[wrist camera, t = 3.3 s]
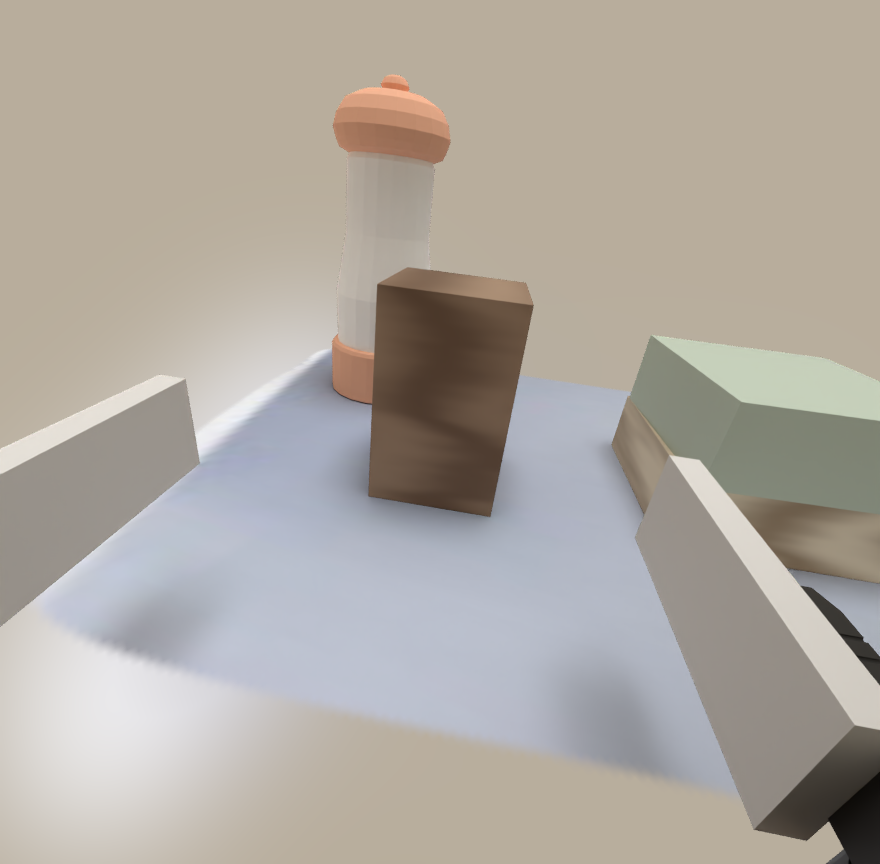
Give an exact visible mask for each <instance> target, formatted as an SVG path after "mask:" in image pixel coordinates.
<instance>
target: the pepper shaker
mask: <svg viewBox="0 0 880 864" xmlns="http://www.w3.org/2000/svg"><path fill="white" fill-rule="evenodd" d="M381 85H382V88H377V87H371V88H364V89H361V90H358V91H356V92H353V93H351V94H349V95H346V96H345V98H344V99H343V101H342V102H341V104H340V106H339V108H338V109H337V111H336V114H335V118H334V123H333V128H334V132H335V136H336V139H337V141H338V144H339V146H340V147H341V148H343V149H345V150H346V151H348V152H349V154H348V156H347V184H346V185H347V186H346V233H345V239H344V245H343V253H342V258H341V266H340V272H339V279H338V284H337V315H338V334H337V335H336V336H335V338H334V339H333V341H332V363H333V387H334V389H335V390H336V391H337V392H338V393H339V394H341V395H343V396H345V397H347V398H349V399H352V400H356V401H360V402H364V403H371V404H372V397H373V372H374V347H375V323H376V298H377V284H378V283H380V282H382V281H383V280H385V279H387V278H389V277H391V276H392V275H394V274H396V273H398V272H400V271H401V270H403V269H405V268H407V267H411V268H418V269H426V270H430V254H429V231H430V219H431V207H432V195H433V182H434V171H435V170H434V166H433V164H435V163H438V162H441V161H443V159H444V157H445V155H446V153H447V151H448V148H449V145H450V134H449V125H448V123H447V121H446V118H445V116H444V113H443V111H441V110H440V109H439V108H437V107H436V106H435V105H434V104H433V103H431V102H430V101H429V100H427V99H426V98H425V97H422V96H420V95H417V94H414V93H411V92H408V91H409V86H408V83H407V81H406V80H405V79H404V78H403V77H401V76H399V75H389V76H386V77H384V79H383V81H382V83H381Z"/></svg>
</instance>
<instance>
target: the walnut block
mask: <svg viewBox="0 0 880 864" xmlns="http://www.w3.org/2000/svg"><path fill="white" fill-rule="evenodd" d="M532 311H533V302H532V299H531V296H530V293H529V290H528V287H527V284H526V283H523V282H515V281H507V280H501V279H493V278H486V277H478V276H471V275H463V274H455V273H448V272H441V271H433V270H426V269H418V268H411V267H407V268H405V269H403V270H401V271H400V272H398V273H396V274H394V275H392V276H391V277H389V278H387V279H385V280H383V281H382V282H380V283H378V284H377V298H376V323H375V347H374V372H373V397H372V422H371V447H370V471H369V496H370V497H376V498H382V499H388V500H394V501H400V502H405V503H411V504H417V505H423V506H429V507H435V508H441V509H447V510H453V511H459V512H465V513H470V514H476V515H482V516H488V517H490V516H491V511H492V506H493V501H494V496H495V491H496V487H497V482H498V477H499V472H500V467H501V462H502V457H503V452H504V447H505V443H506V438H507V433H508V428H509V423H510V418H511V413H512V408H513V403H514V399H515V394H516V389H517V384H518V379H519V374H520V369H521V364H522V359H523V355H524V350H525V345H526V340H527V335H528V330H529V325H530V320H531V315H532Z"/></svg>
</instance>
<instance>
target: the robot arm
mask: <svg viewBox="0 0 880 864" xmlns="http://www.w3.org/2000/svg"><path fill="white" fill-rule="evenodd" d="M199 463H200V461H199V455H198V450H197V444H196V438H195V432H194V426H193V420H192V414H191V408H190V403H189V397H188V391H187V386H186V380H185V379H184V378H177V377H171V376H165V375H158V376H155V377H153V378H151V379H149V380H147V381H145V382H142V383H141V384H138V385H136V386H134V387H132V388H130V389H127V390H125V391H123V392H121V393H119V394H117V395H115V396H113V397H110V398H108V399H106V400H104V401H102V402H99V403H97V404H95V405H93V406H91V407H89V408H87V409H85V410H82V411H80V412H78V413H76V414H74V415H72V416H69V417H68V418H65V419H63V420H61V421H59V422H57V423H54V424H52V425H50V426H48V427H46V428H44V429H42V430H39V431H37V432H35V433H33V434H31V435H29V436H27V437H25V438H22V439H20V440H18V441H16V442H14V443H12V444H9V445H7V446H5V447H3V448H1V449H0V627H1V626H2V625H3V624H4V623H5V622H7V621H8V620H9V619H10V618H12V617H13V616H14V615H15V614H17V612H19V611H20V610H21V609H23V608H24V607H25V606H26V605H27V604H29V603H30V602H31V601H32V600H34V599H35V598H36V597H37V596H39V595H40V594H41V593H42V592H43V591H45V590H46V589H47V588H48V587H49V586H51V585H52V584H53V583H54V582H56V581H57V580H58V579H59V578H60V577H62V576H63V575H64V574H65V573H67V572H68V571H69V570H70V569H71V568H73V567H74V566H75V565H76V564H78V563H79V562H80V561H81V560H82V559H84V558H85V557H86V556H87V555H89V554H90V553H91V552H92V551H93V550H95V549H96V548H97V547H98V546H99V545H101V544H102V543H103V542H104V541H106V540H107V539H108V538H109V537H110V536H112V535H113V534H114V533H115V532H117V531H118V530H119V529H120V528H121V527H123V526H124V525H125V524H126V523H128V522H129V521H130V520H131V519H132V518H134V517H135V516H136V515H137V514H139V513H140V512H141V511H142V510H143V509H145V508H146V507H147V506H148V505H149V504H151V503H152V502H153V501H154V500H156V499H157V498H158V497H159V496H160V495H162V494H163V493H164V492H165V491H167V490H168V489H169V488H170V487H171V486H173V485H174V484H175V483H176V482H178V481H179V480H180V479H181V478H182V477H184V476H185V475H186V474H187V473H189V472H190V471H191V470H192V469H193V468H195V467H196V466H197V465H198V464H199ZM635 539H636V541H637V544H638V546H639V549H640V551H641V554H642V556H643V559H644V561H645V563H646V566H647V568H648V571H649V573H650V576H651V578H652V581H653V583H654V586H655V588H656V590H657V593H658V595H659V598H660V600H661V603H662V605H663V608H664V610H665V613H666V615H667V617H668V620H669V622H670V625H671V627H672V630H673V632H674V635H675V637H676V640H677V642H678V644H679V647H680V649H681V652H682V654H683V657H684V659H685V662H686V664H687V667H688V669H689V672H690V674H691V676H692V679H693V681H694V684H695V686H696V689H697V691H698V694H699V696H700V699H701V701H702V703H703V706H704V708H705V711H706V713H707V716H708V718H709V721H710V723H711V726H712V728H713V730H714V733H715V735H716V738H717V740H718V743H719V745H720V748H721V750H722V753H723V755H724V757H725V760H726V762H727V765H728V767H729V770H730V772H731V775H732V777H733V780H734V782H735V784H736V787H737V789H738V792H739V794H740V797H741V799H742V802H743V804H744V807H745V809H746V811H747V814H748V816H749V819H750V821H751V824H752V826H753V828H754V830H758V831H763V832H768V833H772V834H777V835H782V836H787V837H791V838H796V839H801V840H806V841H807V840H808V839H809V838H810V837H812V836H813V835H814V834H815V833H816V832H817V831H818V830H819V829H821V828H822V827H823V826H824V825H825V824H826V823H827V822H828V821H829V822H830V824H831V826H832V827H833V829H834V831H835V833H836V835H837V837H838V839H839V840H840V842H841V844H842V846H843V848H844V850H842V851H841V852H840V853H839V854H837V855H836V856H835V857H834V858H833V859H832V860H830V861H829V862H828V863H826V864H880V656H879V655H878V654H877V653H876V652H875V651H874V649H873V648H872V647H871V646H870V645H869V643H865V642H864V641H863V636H862V635H861V634H860V633H859V632H858V631H857V629H856V628H855V627H854V626H853V625H852V624H851V622H850V621H849V620H848V619H847V618H846V616H845V615H844V614H843V613H842V612H841V611H840V610H839V609H838V608H836V607H835V606H834V605H832V604H831V603H830V602H829V601H827V600H826V599H825V598H824V597H822V596H821V595H820V594H819V593H817V592H816V591H815V590H814V589H812V588H810V587H804V586H800V585H799V584H798V583H797V581H796V580H795V579H794V578H793V576H792V575H791V574H790V573H789V571H788V570H787V569H786V567H785V566H784V565H783V564H782V562H781V561H780V560H779V559H778V557H777V556H776V555H775V554H774V552H773V551H772V550H771V549H770V547H769V546H768V545H767V544H766V542H765V541H764V540H763V539H762V537H761V536H760V535H759V534H758V532H757V531H756V530H755V529H754V527H753V526H752V525H751V524H750V522H749V521H748V520H747V519H746V517H745V516H744V515H743V514H742V512H741V511H740V510H739V509H738V507H737V506H736V505H735V504H734V502H733V501H732V500H731V499H730V497H729V496H728V495H727V494H726V492H725V491H724V490H723V489H722V487H721V486H720V485H719V484H718V482H717V481H716V480H715V479H714V477H713V476H712V475H711V474H710V472H709V471H708V470H707V469H706V467H705V466H704V465H703V464H702V462H701V461H700V460H697V459H690V458H684V457H678V456H671V455H669V456H668V459H667V461H666V464H665V466H664V469H663V471H662V473H661V476H660V478H659V481H658V483H657V486H656V488H655V490H654V493H653V495H652V498H651V500H650V502H649V505H648V507H647V510H646V512H645V515H644V517H643V519H642V522H641V524H640V527H639V529H638V532H637V534H636V536H635Z"/></svg>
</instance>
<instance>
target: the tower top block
mask: <svg viewBox="0 0 880 864" xmlns="http://www.w3.org/2000/svg"><path fill="white" fill-rule="evenodd" d="M630 399H631V400H632V402H633V403H634V404H635V406H636V407H637V408H638V409H639V411H640V412H641V413H642V415H643V416H644V417H645V418H646V420H647V421H648V422H649V424H650V425H651V426H652V427H653V429H654V430H655V431H656V432H657V434H658V435H659V436H660V438H661V439H662V440H663V441H664V443H665V444H666V445H667V447H668V448H669V449H670V450H671V452H672V453H673V454H674V456H678V457H684V458H690V459H697V460H700V461H701V462H702V464H703V465H704V466H705V467H706V469H707V470H708V471H709V472H710V474H711V475H712V476H713V477H714V479H715V480H716V481H717V482H718V484H719V485H720V486H721V487H722V489H723V490H724V491H725V492H726V493H733V494H740V495H747V496H754V497H761V498H768V499H775V500H782V501H789V502H796V503H803V504H810V505H817V506H824V507H831V508H838V509H845V510H852V511H859V512H866V513H873V514H880V381H877V380H875V379H873V378H870V377H868V376H866V375H863V374H861V373H859V372H856V371H854V370H852V369H849V368H847V367H845V366H842V365H840V364H838V363H835V362H833V361H831V360H828V359H826V358H820V357H813V356H805V355H798V354H790V353H782V352H775V351H767V350H759V349H752V348H744V347H737V346H729V345H722V344H714V343H707V342H700V341H692V340H685V339H677V338H670V337H669V338H668V337H662V336H654V335H651V337H650V339H649V342H648V345H647V348H646V351H645V354H644V357H643V360H642V363H641V366H640V369H639V372H638V375H637V378H636V381H635V384H634V386H633V389H632V392H631V395H630Z"/></svg>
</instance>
